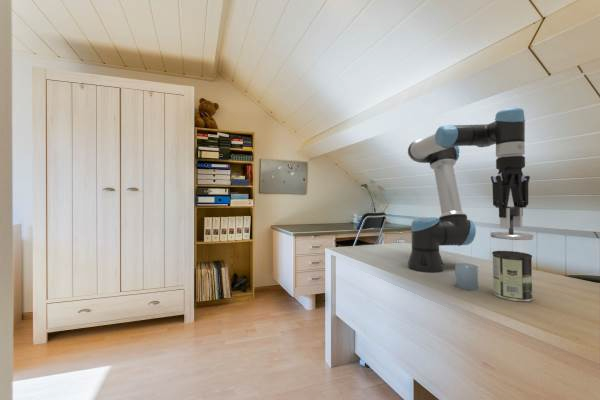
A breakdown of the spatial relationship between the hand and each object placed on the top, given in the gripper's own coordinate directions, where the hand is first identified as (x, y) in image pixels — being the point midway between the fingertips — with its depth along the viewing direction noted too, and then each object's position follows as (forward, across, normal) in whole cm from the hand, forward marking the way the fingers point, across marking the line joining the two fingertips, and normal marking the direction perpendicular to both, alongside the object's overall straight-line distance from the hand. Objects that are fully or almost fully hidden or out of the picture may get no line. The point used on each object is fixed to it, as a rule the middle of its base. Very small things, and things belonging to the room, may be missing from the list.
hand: (511, 227), depth 88 cm
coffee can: (+23, 0, 0) cm, 23 cm away
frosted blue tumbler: (+23, -7, +11) cm, 26 cm away
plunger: (+3, 0, 0) cm, 3 cm away
